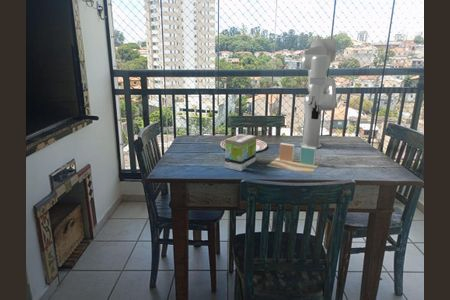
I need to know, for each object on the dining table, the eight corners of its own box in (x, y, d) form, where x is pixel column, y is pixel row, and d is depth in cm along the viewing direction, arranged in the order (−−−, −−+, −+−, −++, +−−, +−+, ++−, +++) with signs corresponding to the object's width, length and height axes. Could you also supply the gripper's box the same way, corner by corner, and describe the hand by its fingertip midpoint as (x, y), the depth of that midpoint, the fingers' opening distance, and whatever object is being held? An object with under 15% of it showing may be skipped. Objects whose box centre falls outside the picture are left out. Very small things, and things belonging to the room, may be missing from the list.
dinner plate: (275, 152, 184) (275, 147, 183) (231, 158, 175) (231, 152, 174) (253, 141, 209) (253, 136, 208) (214, 145, 199) (213, 140, 198)
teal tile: (301, 161, 165) (302, 145, 163) (314, 164, 162) (316, 147, 159) (299, 163, 163) (300, 147, 160) (313, 165, 160) (314, 149, 157)
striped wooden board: (278, 159, 173) (278, 156, 173) (319, 165, 163) (319, 163, 162) (266, 167, 160) (266, 165, 159) (310, 176, 149) (310, 173, 149)
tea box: (241, 171, 155) (242, 142, 151) (224, 168, 160) (224, 139, 156) (256, 163, 167) (256, 135, 163) (239, 159, 172) (239, 132, 168)
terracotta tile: (280, 158, 170) (281, 142, 168) (293, 160, 167) (294, 144, 164) (279, 159, 168) (279, 144, 166) (292, 161, 165) (293, 145, 162)
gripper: (314, 80, 165) (311, 115, 170) (305, 82, 152) (303, 120, 158) (329, 80, 161) (325, 117, 167) (321, 83, 149) (318, 122, 154)
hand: (314, 118), depth 162 cm, fingers closed
